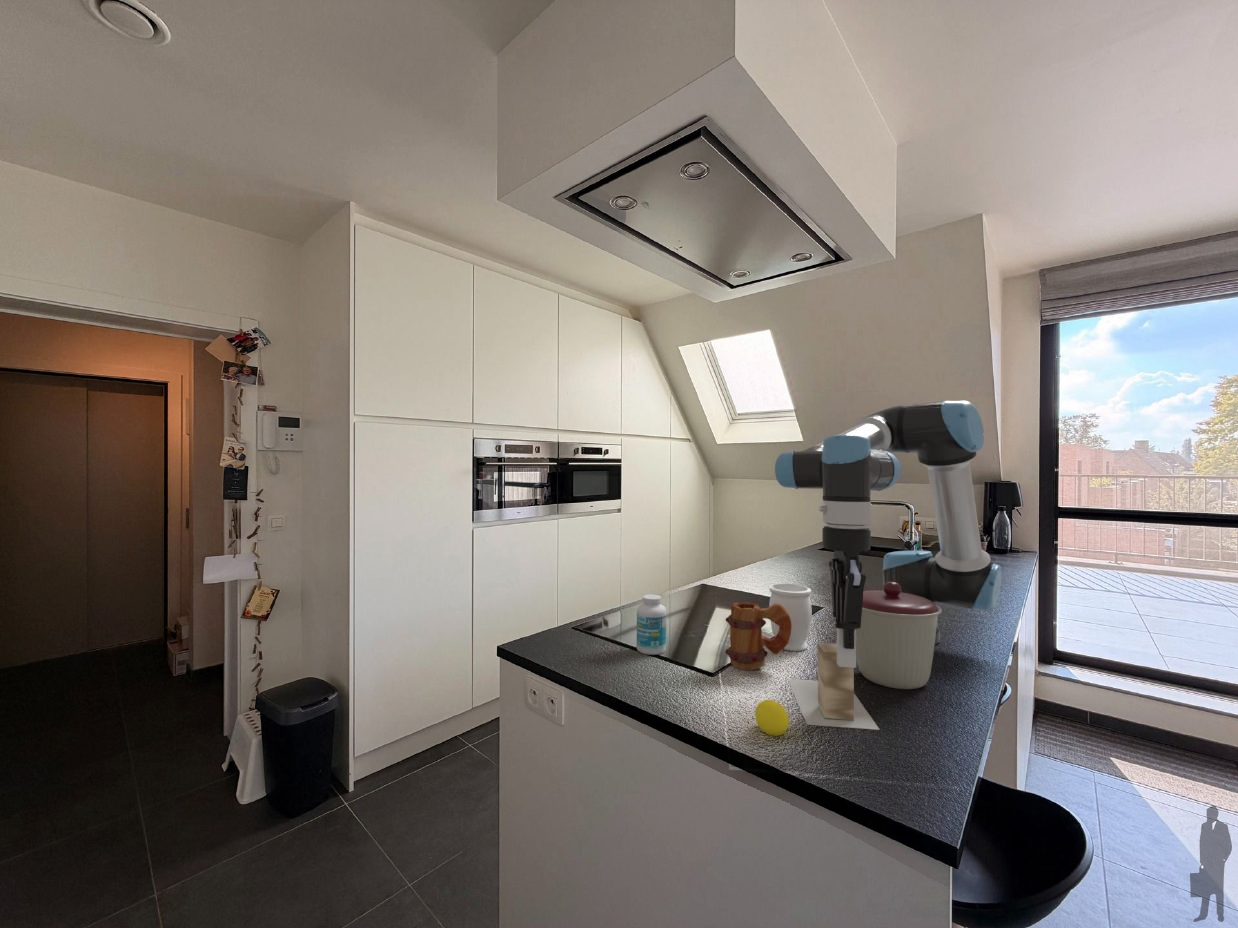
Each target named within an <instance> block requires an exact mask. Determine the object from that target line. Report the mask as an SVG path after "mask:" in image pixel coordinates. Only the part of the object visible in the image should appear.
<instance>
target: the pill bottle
mask: <svg viewBox="0 0 1238 928" xmlns="http://www.w3.org/2000/svg"><path fill="white" fill-rule="evenodd" d="M641 601H642V604H640V605H638V607H637V609H636V649H637V652H639V653H641V654H644V655H647V656H648V655H650V656H655V655H656V656H657V655H661V654H663V653H664V652H665V651H666V648H667V608H666V607H665V606H664V605H663V604H661V602H662V596H661V595H658V594H645V595H642V599H641Z"/></svg>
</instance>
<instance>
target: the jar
mask: <svg viewBox="0 0 1238 928" xmlns="http://www.w3.org/2000/svg"><path fill="white" fill-rule="evenodd" d="M768 590H769V591H770V593H771V594H770V597H769V604H768V605H769V606H768V607H770V606H771V605H773V604H775V603H778V604H781V605H782V606H783V607H784V608H785V609H786V611H787V612H788V614H789V616H790V618H791V624H792V627H791V635H790V639H789V642H788V644H787V645H786V646H785V648H784V649H783V651H784V650H785V651H789V652H790V651H792V652H801V651H805V650H807V648H808V644H807V642H806V641H807V639H808V637H809V634H810V629H811V624H812V613H813V612H812V610H813V609H812V602H811V599H810V598H811V597H810V595H812V589H811V588H810V587H808V586H805V585H800V584H796V583H795V584H794V583H775V584H770V585H769V588H768ZM770 625H771V631H772V633H773V635H774V637H776V635H777V634H778V632H779V625H777V624H775V623H774V622H772V621H771V620H770Z"/></svg>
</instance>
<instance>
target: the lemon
mask: <svg viewBox="0 0 1238 928" xmlns="http://www.w3.org/2000/svg"><path fill="white" fill-rule="evenodd" d="M754 717H755V721H756V724H757V725H758V727H759V728H760V730H761V731H762V732H763V733H766V734H767V735H769V736H772V737H773V736H774V737H778V736H781V735H784V734H785V733H786V732H787V730H788V729H789V725H790V715H789V713H788V712H787V710H786V708H785V707H784V706H783V705H781V704H780V702H778V701H775V700H773V699H764V700H762V701H760V702H759V703H758V704H757V705H756V707H755V711H754Z"/></svg>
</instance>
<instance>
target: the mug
mask: <svg viewBox="0 0 1238 928" xmlns="http://www.w3.org/2000/svg"><path fill="white" fill-rule="evenodd" d="M765 619H768V620H769V621H770V622H771V621H772V622H774V623H775V624H777V625H779V632H778V634H777V635H776V637H775V636H774V637H773V638H769V637H767V636H764V635H763V634H762V633H763V630H762V629H763V627H764V626H765V625H766V624H767V621H766V620H765ZM725 621H726V623H728V625H729V626H730V629H729V630H730V631H729V633H730V635H729V637H730V639H729V641H730V644H729V646H728V648H726V649H725V651H724V653H725V654H726V655H727V656H728V657H729V659H730V661H729V662H730V664H731V665H732V666H733V667H734V668H736V669H739V670H740V671H741V670H743V671H756V670H758V669H761V668H763V667H764V666H765V664H766V662H765V660H766V657H767V656H768V654H769V652H768V651H766V650H765V648H766V649H767V650H769V651H770V652H771V653H772V654H774V655H778V654H780V653H781V652H782V651H784V648H785V646H786V645H787V644H788V642H789V639H790V635H791V627H792V624H791V618H790V616H789V614H788V612H787V611H786V609H785V608H784V607H783V606H782V605H781V604H778V603H775V604H773V605H771V606H770V607H769V606H768V607H766V608H762V607H760V606H759V605H758V604H757V603H753V602H752V603H749V602H733V603H732V604H731V610H730V615H728V617H726V618H725Z"/></svg>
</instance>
